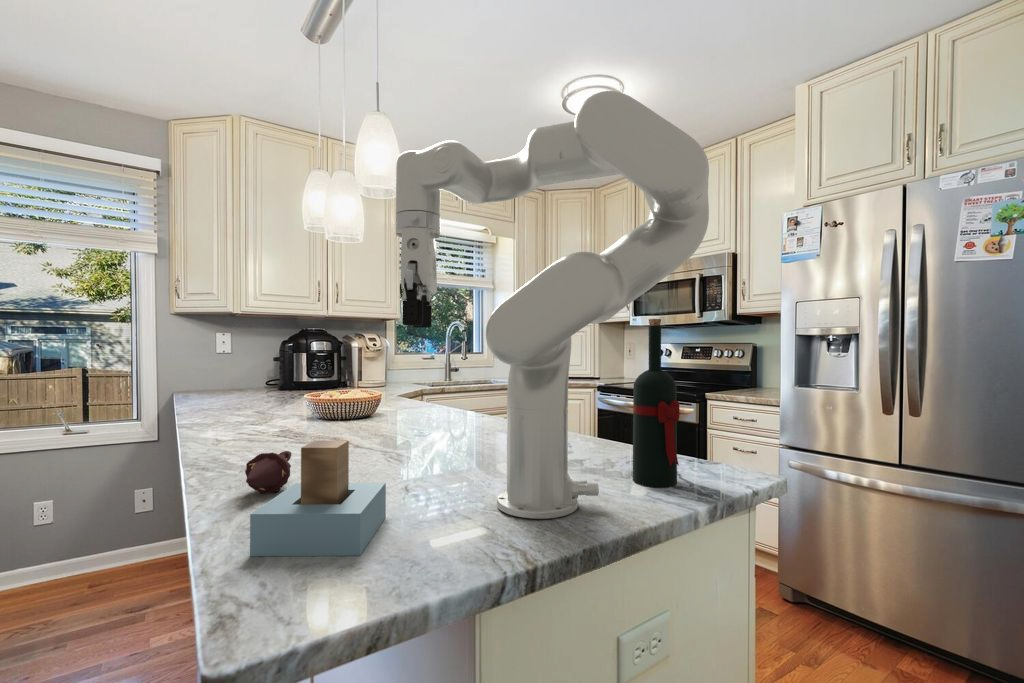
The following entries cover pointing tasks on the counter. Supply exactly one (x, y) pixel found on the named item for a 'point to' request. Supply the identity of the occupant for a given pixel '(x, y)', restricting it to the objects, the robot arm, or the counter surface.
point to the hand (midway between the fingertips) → (417, 326)
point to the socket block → (318, 523)
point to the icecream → (268, 472)
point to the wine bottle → (655, 420)
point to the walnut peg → (324, 472)
